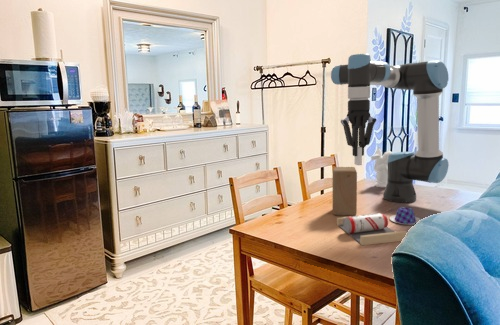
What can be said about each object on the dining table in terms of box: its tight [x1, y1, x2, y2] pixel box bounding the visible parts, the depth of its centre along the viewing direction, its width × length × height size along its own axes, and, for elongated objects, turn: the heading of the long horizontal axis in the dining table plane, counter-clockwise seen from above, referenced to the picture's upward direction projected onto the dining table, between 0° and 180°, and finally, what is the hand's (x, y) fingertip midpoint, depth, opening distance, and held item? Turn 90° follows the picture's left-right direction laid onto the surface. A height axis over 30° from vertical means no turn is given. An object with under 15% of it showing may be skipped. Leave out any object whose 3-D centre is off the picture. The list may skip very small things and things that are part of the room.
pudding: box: [389, 206, 422, 226], centre depth 151 cm, size 12×12×5 cm
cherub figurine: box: [370, 146, 394, 189], centre depth 207 cm, size 12×12×22 cm
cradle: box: [336, 216, 408, 246], centre depth 140 cm, size 17×22×3 cm
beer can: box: [343, 212, 389, 234], centre depth 140 cm, size 6×6×16 cm
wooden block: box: [332, 166, 358, 217], centre depth 163 cm, size 10×10×20 cm
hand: (358, 164), depth 135 cm, fingers closed
